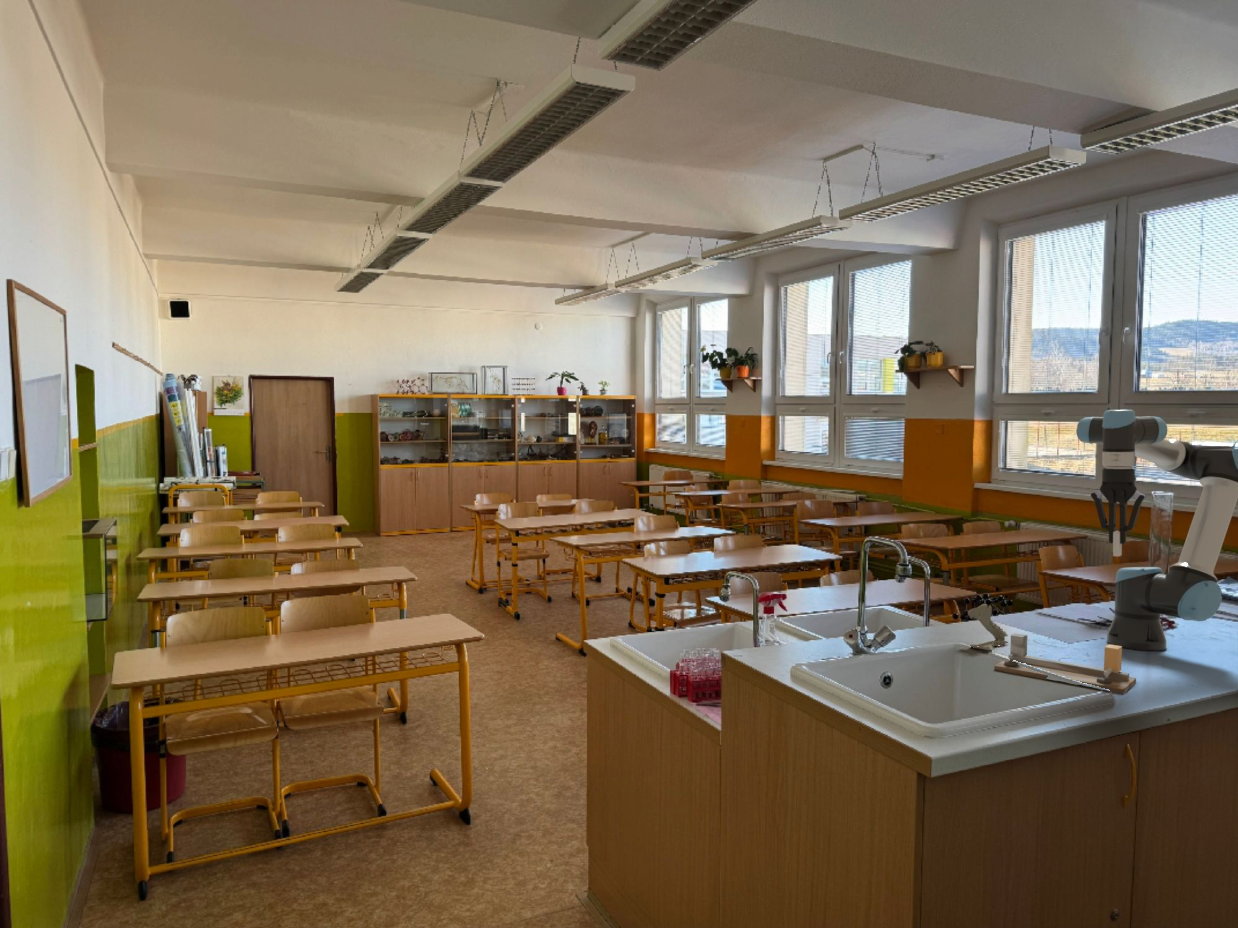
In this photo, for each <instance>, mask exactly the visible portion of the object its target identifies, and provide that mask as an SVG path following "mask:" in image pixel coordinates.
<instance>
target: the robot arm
mask: <svg viewBox="0 0 1238 928" xmlns="http://www.w3.org/2000/svg"><path fill="white" fill-rule="evenodd" d="M1168 431H1169V430H1168V425H1167V423H1166V421H1165V420H1164V419H1162V418H1161V417H1159V416H1152V415H1150V416H1149V415H1146V416H1136V411H1135V410H1133V409H1108V410H1105V411H1104V412H1103V416H1090V417H1089V416H1088V417H1086V416H1085V417H1084V418H1081V419H1080V420H1079V421H1078V423H1077V425H1076V432H1075V433H1076V437H1077V439H1078V440H1079V441H1080V442H1082V443H1085V444H1090V445H1093V444H1096V445H1101V446H1102V454H1101V455H1102V463H1101V464H1102V466H1103V467H1104V468H1102V471H1101V486H1100V487H1099V489H1098V490H1096V491H1095V492H1091V494H1090V497H1091V499H1093V501H1094V504H1095V509H1096V512H1097V517H1098V520H1099V523H1100V527H1101V528H1102V529H1105V530H1106V531H1108V542H1109V544H1112V556H1113V557H1122V555H1123V553H1122V552H1123V550H1122V548H1123V546H1122V545H1125V544H1126V542H1127V532H1128V531H1131V530H1132V531H1133V529H1135V527H1136V525H1137V519H1138V517H1139V513H1140V510H1141V506H1142V503H1143V502H1144V500H1146V498H1147V495H1146V494H1145V493H1144V494H1143V493H1141V492H1140V491H1138V490H1137V486H1136V484H1135V479H1136V478H1135V477H1136V476H1135V472H1136V471H1135V468H1134V467H1135V466H1136V458H1138V459H1142V460H1144V461H1147V462H1149V463H1153V464H1154V465H1155V466H1156V467H1157V468H1159V469H1160V470H1163V471H1165V472H1168V473H1171V474H1173V475H1177V476H1180V477H1183V478H1187V479H1190V480H1194V481H1199V483H1200V485H1201V486H1202V492H1201V494H1200V496H1199V497H1200V498H1199V500H1198V503H1197V506H1196V509H1195V512H1194V515H1193V517H1192V520H1191V524H1190V525H1189V530H1188V531H1187V532H1188V533H1187V536H1186V538H1185V542H1184V543H1183V547H1182V549H1181V553H1180V555H1179V559H1178V560H1177V561H1178V562H1175V563H1174V564H1171V565H1170V566H1169V569H1168V572H1167V574H1165V573H1163V572H1164V571H1163V570H1162V568H1161V567H1157V566H1136V567H1135V566H1133V567H1131V566H1130V567H1129V566H1128V567H1121V568H1119V569H1117V571H1116V574H1115V581H1114V584H1115V590H1114V595H1115V596H1114V617H1113V619H1112V622H1111V624H1110V627H1109V629H1108V630H1107V634H1106V635H1107V637H1106V641H1107V643H1109V644H1110V645H1116V646H1122V648H1125V649H1130V650H1131V649H1132V650H1139V651H1163V650H1166V649H1167V638H1166V634H1165V632H1164V629H1163V626H1162V623H1161V615H1163V616H1168V617H1171V618H1176V619H1182V620H1183V621H1194V622H1205V621H1207V620H1209V619H1211V618H1213V616H1214V615H1216V613H1217V612H1218V610H1219V609H1220V607H1221V604H1222V599H1223V597H1222V588H1221V587H1220V585H1219V584H1218V583H1217V582H1218V577H1217V576H1216V575H1215V574H1214V571H1215V567H1216V565H1217V562H1218V559H1219V556H1220V553H1221V551H1222V547H1223V545H1224V544H1223V543H1224V541H1225V538H1226V534H1227V532H1228V528H1229V525H1230V523H1231V520H1232V517H1233V514H1234V510H1235V509H1236V508H1235V507H1236V506H1237V501H1238V441H1231V442H1230V441H1185V440H1184V441H1183V440H1182V441H1181V440H1178V439H1175V438H1170V439H1169V438H1167V439H1166V437H1167V434H1168ZM1103 496H1104V498H1105V499H1106V500H1107V502H1108V519H1107V515H1106V512H1105V507H1104V502H1103V500H1102V498H1103ZM1133 496H1134V498H1133V500H1135V501H1134V504H1133V507H1132V510H1131V513H1130V516H1129V520H1127V519H1128V508H1127V507H1128V502H1129V501H1130V500H1131V498H1132V497H1133ZM1117 503H1119V504H1118V505H1119V529H1118V530H1116V529H1117V523H1116V522H1117Z"/></svg>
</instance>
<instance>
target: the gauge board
mask: <svg viewBox="0 0 1238 928" xmlns="http://www.w3.org/2000/svg"><path fill="white" fill-rule="evenodd" d="M1007 658H1009V659H1010V661H1005V659H1004V660H1002V661H1000V662H999V663H996V664H995V665H994V671H999V672H1003V673H1008V674H1012V675H1013V674H1014V675H1020V676H1025V677H1030V678H1036V679H1039V680H1040V679H1041V680H1046V678H1047V677H1048V675H1045V674H1043V673H1040V672H1037V671H1034V670H1031V669H1028V668H1026V667H1022V666H1019V665H1018V663H1016V662H1012V661H1013V660H1016V661H1018V662H1021V663H1026V664H1027V665H1031V666H1032V667H1035V668H1040V669H1042V670H1045V671H1049V672H1050V673H1055V674H1056V675H1060V676H1065V677H1066V678H1070V679H1071V680H1076V681H1080V682H1082V683H1087V684H1092V685H1095V686H1099V687H1101V688H1105V689H1109V690H1110V691H1112V692H1111V693H1114V694H1121V695H1124V694H1126V693H1127V692H1128V691H1129V690H1130V689H1131V688H1133V686H1135V685H1136V683H1137V677H1130V673H1127V672H1124V671H1123V672H1122V671H1119V672H1118V673H1114V672H1111V673H1110V674H1109V675H1108V678H1105V675H1104V668H1099V667H1094V666H1088V665H1082V664H1075V663H1071V662H1065V661H1059V660H1053V659H1049V658H1048V659H1047V658H1041V657H1036V656H1031V655H1030V656H1029V655H1028V634H1026V633H1020V632H1014V633H1013V634H1011V635H1010V653H1009V654H1008V655H1007ZM1046 681H1047V680H1046Z"/></svg>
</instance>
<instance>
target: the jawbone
mask: <svg viewBox="0 0 1238 928" xmlns="http://www.w3.org/2000/svg"><path fill="white" fill-rule="evenodd" d="M992 612H993V607H992V605H990V604H989V605H988V604H986V603H982V604H981V605H979V606H977V607H974V608H971V609H969V610H968V612H967V615H968V616H969V617H971V618H974V619H976V620H978V621H979V622H980V624H981V625H982V627H984V629H985V630H987V632H988V633H990V634H991V635H992V636H993V637H994V640H991V641H987V642H984V643H979V644H969V645H970V646H971V647H975V648H974V649H979V650H986V651H991V650H994V651H995V647H994V646H997V647H1001V646H1003V645H1005V644H1006V645H1007V644H1009V641H1007V640H1006V637H1008V636H1009V634H1007V633H1006V631H1005V630H1004V631H1003V628H1001V627H1000V626H999V625H997V623H995V622H994V620H991V617H992ZM998 645H1000V646H998ZM977 646H979V647H977ZM971 647H970V648H971Z"/></svg>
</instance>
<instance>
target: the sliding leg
mask: <svg viewBox="0 0 1238 928" xmlns="http://www.w3.org/2000/svg"><path fill="white" fill-rule="evenodd" d="M1122 656H1123V647H1122V646H1116V645H1113V644H1110V643H1109V644H1107V645H1106V646H1104V659H1103V669H1104V675H1105V678H1108V675H1109V674H1110V673H1111V672H1114V673H1118V672H1122Z"/></svg>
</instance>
